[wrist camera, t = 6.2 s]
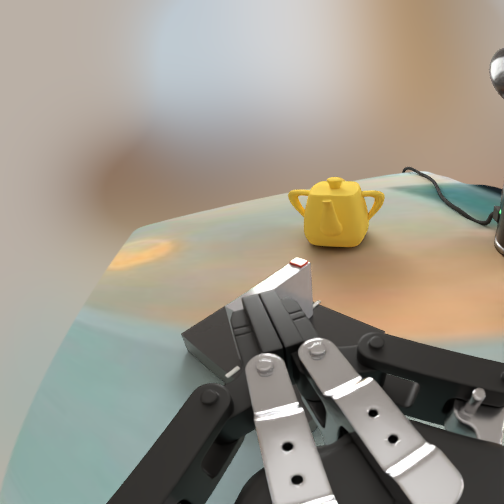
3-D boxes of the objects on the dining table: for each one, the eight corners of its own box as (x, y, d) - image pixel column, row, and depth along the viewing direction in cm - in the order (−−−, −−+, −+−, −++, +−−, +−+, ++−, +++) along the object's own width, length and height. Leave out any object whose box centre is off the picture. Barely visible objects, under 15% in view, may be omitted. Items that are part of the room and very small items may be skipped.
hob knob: (251, 367, 23) (237, 311, 20) (238, 358, 24) (223, 303, 21) (313, 314, 28) (310, 260, 25) (300, 309, 29) (296, 255, 26)
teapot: (393, 243, 43) (395, 181, 38) (327, 267, 40) (324, 196, 35) (345, 218, 55) (343, 166, 50) (287, 234, 52) (280, 178, 47)
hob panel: (185, 352, 29) (177, 334, 28) (267, 295, 36) (265, 278, 35) (300, 444, 18) (300, 430, 17) (383, 347, 25) (387, 327, 24)
